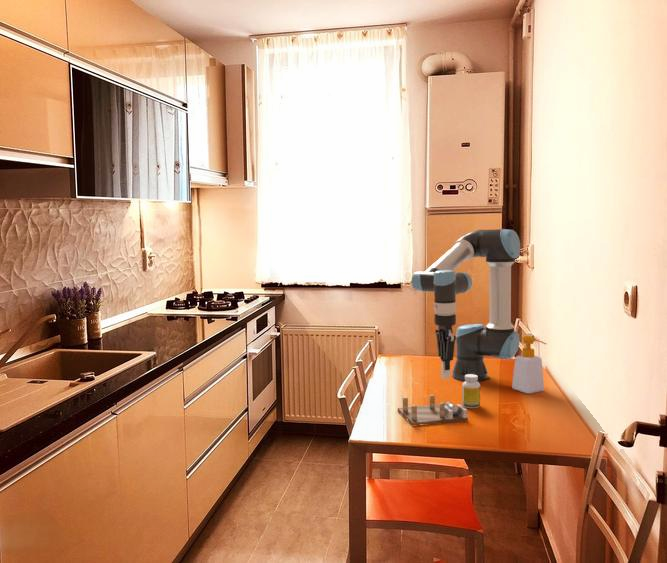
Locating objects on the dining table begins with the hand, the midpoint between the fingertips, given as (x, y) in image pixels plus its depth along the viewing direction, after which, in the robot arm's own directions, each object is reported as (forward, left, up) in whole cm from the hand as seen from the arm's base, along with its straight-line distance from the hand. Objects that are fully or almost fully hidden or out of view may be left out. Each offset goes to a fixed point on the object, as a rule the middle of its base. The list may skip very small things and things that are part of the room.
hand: (445, 377), depth 207 cm
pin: (+6, 0, -11) cm, 13 cm away
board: (+4, -7, -12) cm, 15 cm away
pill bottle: (-2, +11, -13) cm, 17 cm away
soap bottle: (-12, +42, -13) cm, 46 cm away
